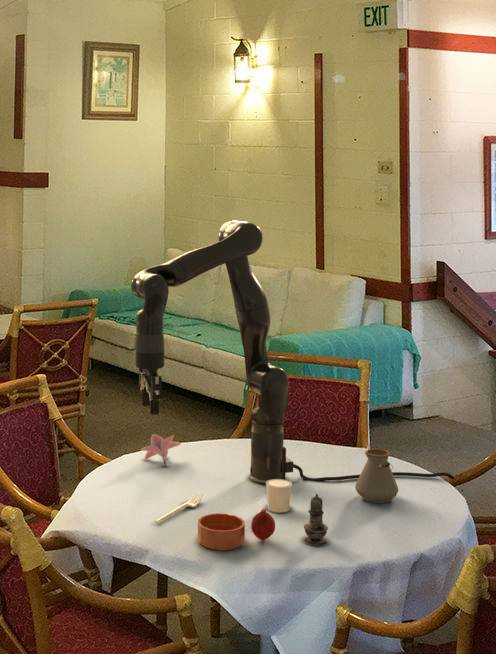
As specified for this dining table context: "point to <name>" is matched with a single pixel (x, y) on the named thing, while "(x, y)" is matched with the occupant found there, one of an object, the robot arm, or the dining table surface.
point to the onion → (263, 525)
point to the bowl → (221, 531)
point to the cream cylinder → (278, 495)
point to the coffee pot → (377, 478)
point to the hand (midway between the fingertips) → (150, 409)
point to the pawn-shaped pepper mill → (315, 524)
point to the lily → (159, 446)
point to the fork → (190, 503)
